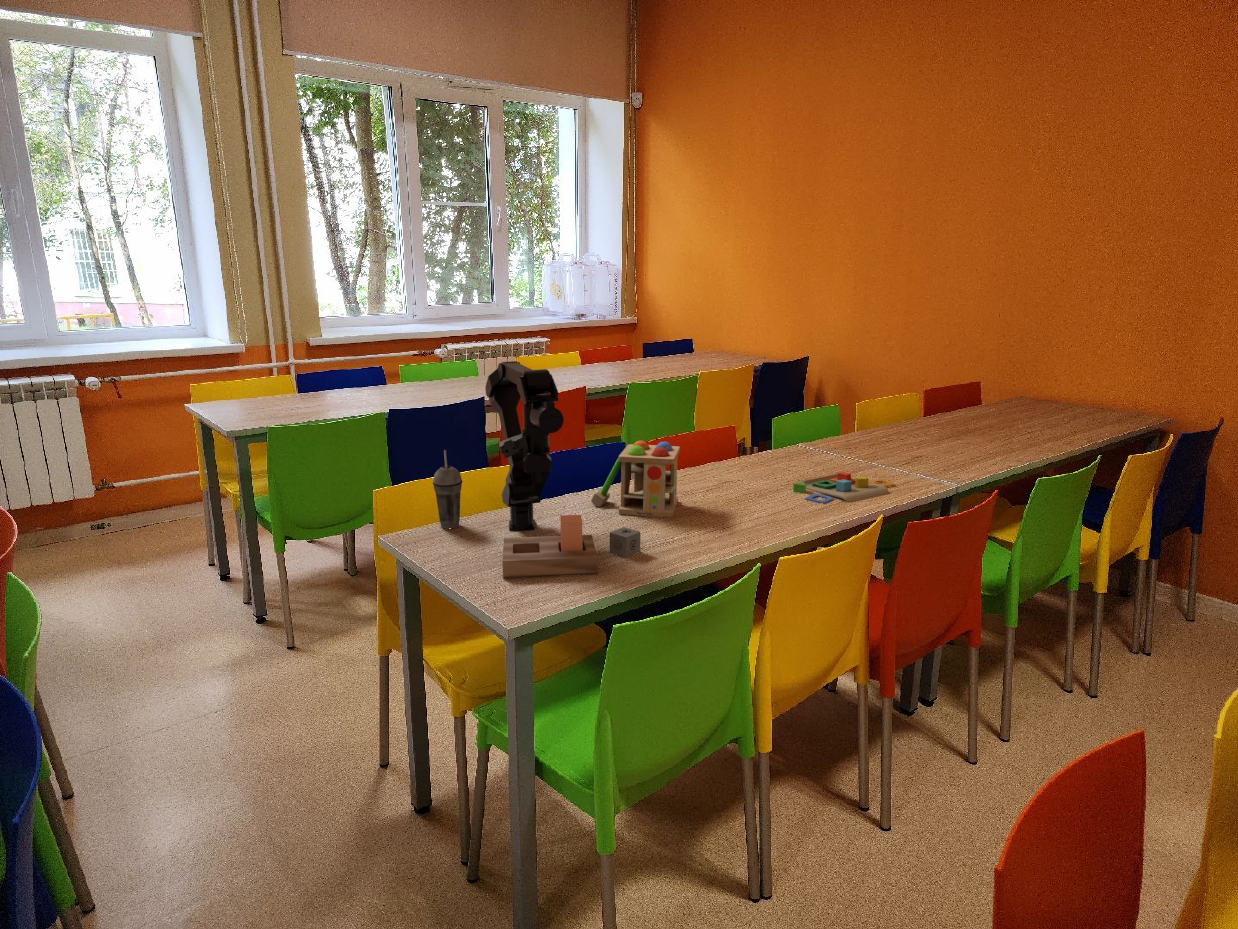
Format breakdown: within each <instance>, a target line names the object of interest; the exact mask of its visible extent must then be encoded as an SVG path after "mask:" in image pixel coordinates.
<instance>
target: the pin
mask: <svg viewBox="0 0 1238 929" xmlns="http://www.w3.org/2000/svg"><path fill="white" fill-rule="evenodd" d="M582 535H583V518H582V514H567V515H566V514H564V515H560V536H561V552H563V551H583V543H582Z"/></svg>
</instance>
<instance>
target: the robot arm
mask: <svg viewBox="0 0 1238 929" xmlns="http://www.w3.org/2000/svg"><path fill="white" fill-rule="evenodd" d="M484 388H485V396H486V397H487V398H488V401H489V404H490V407H491V408H492V409H493V410H494V411H495V412H496V413H497V414H498V417H499V421H500V426H501V431H502V436H503V440H502V441H500V442H499V443H498V444H499V445H498V446H499V450H500V453H501V454H502V457H503V459H507V461H508V466H509V469H508V473H507V474H506V476H505V485H504V488H503V490H502V492H501V498H502V499H501V500H502V503H503V504H504V505H505V506H506V507H507V508H509V512H510V513H509V514H510V515H509V516H510V520H508V521H509V522H508V530H509V531H520V530H521V531H525V530H526V531H527V530H535V529H536V520H535V519H534V504H540V503H541V501H542V494H543V490H544V488H545V486H546V484H547V481H548V478H549V475H550V474H551V471H552V469H553V468H552V462H553V461H552V457H551V456H550V452H551V451H550V450H551V449H550V434H555V433H557V432H559V431H560V429H562V427H563V425H564V420H565V419H564V416H563V413H562V411H561V410H560V409H558V408H557V407H555V406H556V403H555V402H558V401H559V391H558V389H557V385H556V382H555V380H554V378H553V375H552V374H551V371H549V370H548V369H547V368H545V369H544V368H543V369H541V368H540V369H531V368H529V367H527V366H525V365H523V364H521V362H520V361H517V360H515V361H513V360H511V361H501V363H500V362H499V363H498V365H497V368H496V369H495V370H494V371H492V372H491V373H490V374H489V375H488V376H487V379H486V383H485V387H484ZM520 400H521V402H522V416H523V419H522V420H523V422H522V424H523V428H521V424H520V419H519V413H518V405H519V403H520Z"/></svg>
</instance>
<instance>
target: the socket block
mask: <svg viewBox="0 0 1238 929" xmlns="http://www.w3.org/2000/svg"><path fill="white" fill-rule="evenodd" d="M582 543H583V551H563V552H561V535H550V536H549V535H548V536H547V535H546V536H544V535H543V536H523V537H522V536H521V537H503V546H502V548H503V549H502V561H501V562H502V579H503V580H505V579H506V580H507V579H528V578H530V579H531V578H549V577H552V578H553V577H574V576H593V575H594V576H598V555H597V550H596V546H595V541H594V537H593V535H592V534H582Z"/></svg>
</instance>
